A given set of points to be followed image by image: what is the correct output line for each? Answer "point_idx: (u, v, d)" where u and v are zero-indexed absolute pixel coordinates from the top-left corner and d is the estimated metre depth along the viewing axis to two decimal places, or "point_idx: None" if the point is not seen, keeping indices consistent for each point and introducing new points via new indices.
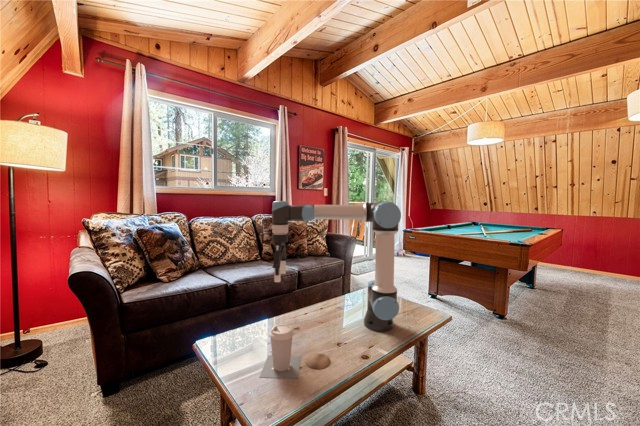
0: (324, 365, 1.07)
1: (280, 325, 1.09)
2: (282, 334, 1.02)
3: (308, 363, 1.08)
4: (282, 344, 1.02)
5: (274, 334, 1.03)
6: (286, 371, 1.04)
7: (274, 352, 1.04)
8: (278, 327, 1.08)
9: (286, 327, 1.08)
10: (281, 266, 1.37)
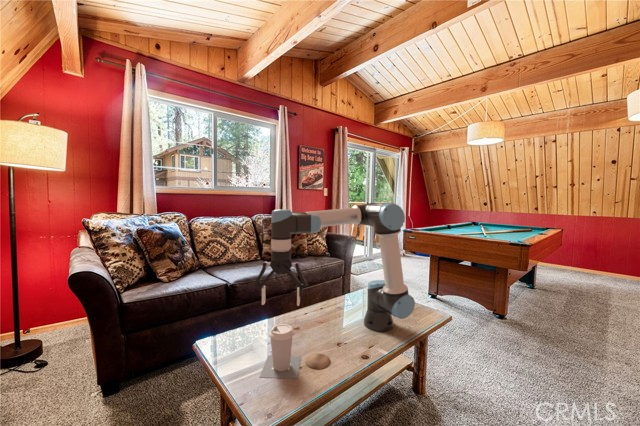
0: (324, 365, 1.07)
1: (280, 325, 1.09)
2: (282, 334, 1.02)
3: (308, 363, 1.08)
4: (282, 344, 1.02)
5: (274, 334, 1.03)
6: (286, 371, 1.04)
7: (274, 352, 1.04)
8: (278, 327, 1.08)
9: (286, 327, 1.08)
10: None
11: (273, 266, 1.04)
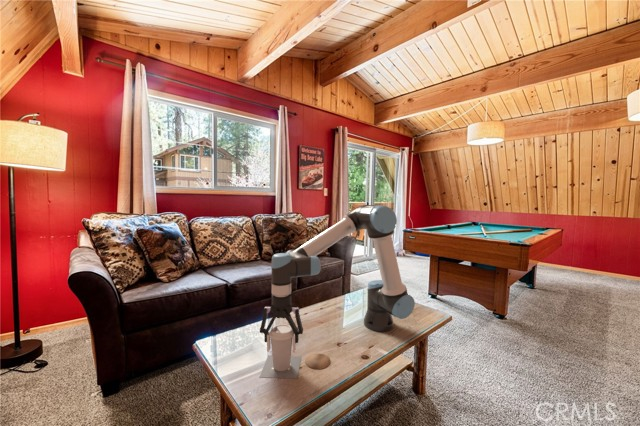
0: (324, 365, 1.07)
1: (280, 325, 1.09)
2: (282, 334, 1.02)
3: (308, 363, 1.08)
4: (282, 344, 1.02)
5: (274, 334, 1.03)
6: (286, 371, 1.04)
7: (274, 352, 1.04)
8: (278, 327, 1.08)
9: (286, 327, 1.08)
10: None
11: (274, 310, 1.05)
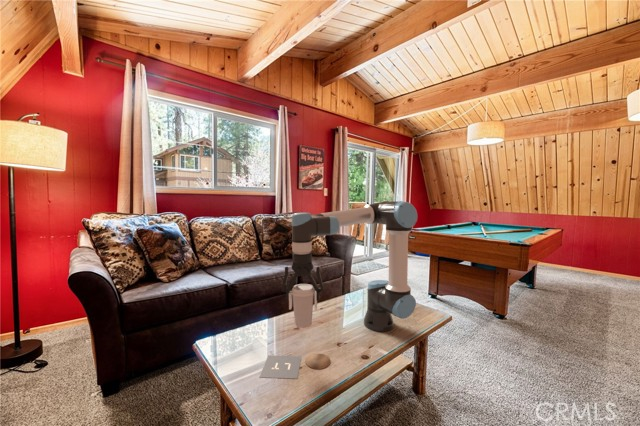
0: (324, 365, 1.07)
1: (301, 284, 1.11)
2: (304, 291, 1.04)
3: (308, 363, 1.08)
4: (304, 300, 1.04)
5: (296, 291, 1.04)
6: (286, 371, 1.04)
7: (296, 309, 1.05)
8: (299, 286, 1.09)
9: (307, 286, 1.09)
10: None
11: (295, 268, 1.06)
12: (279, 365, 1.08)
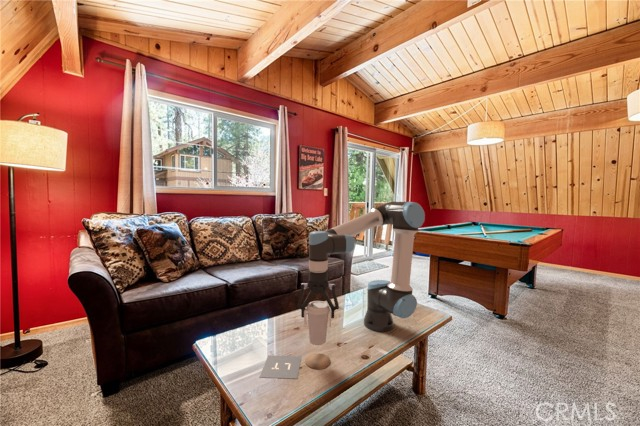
0: (324, 365, 1.07)
1: (316, 301, 1.12)
2: (320, 309, 1.05)
3: (308, 363, 1.08)
4: (320, 318, 1.05)
5: (312, 309, 1.06)
6: (286, 371, 1.04)
7: (311, 326, 1.07)
8: (314, 303, 1.11)
9: (322, 303, 1.11)
10: None
11: (311, 286, 1.08)
12: (279, 365, 1.08)
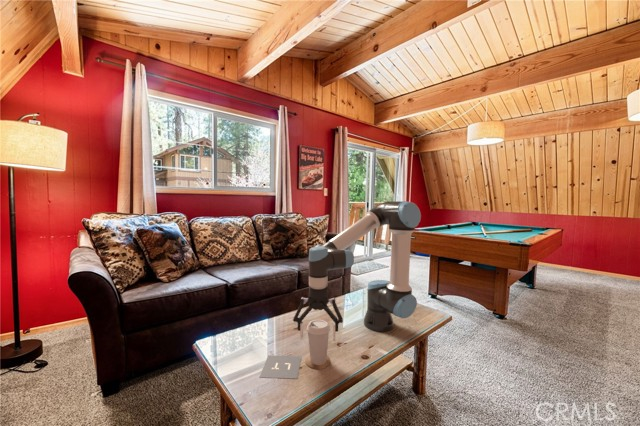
0: (324, 365, 1.07)
1: (316, 321, 1.13)
2: (320, 329, 1.06)
3: (308, 363, 1.08)
4: (320, 338, 1.06)
5: (312, 329, 1.06)
6: (286, 371, 1.04)
7: (312, 346, 1.07)
8: (314, 322, 1.11)
9: (322, 322, 1.11)
10: None
11: (311, 302, 1.08)
12: (279, 365, 1.08)
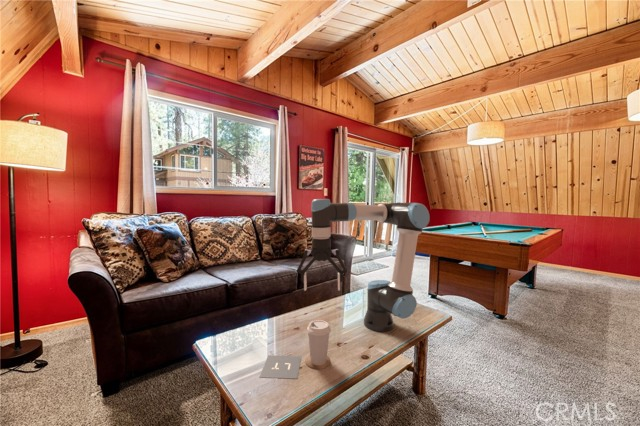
0: (324, 365, 1.07)
1: (316, 321, 1.13)
2: (321, 329, 1.06)
3: (308, 363, 1.08)
4: (320, 339, 1.06)
5: (313, 329, 1.06)
6: (286, 371, 1.04)
7: (312, 347, 1.07)
8: (315, 323, 1.11)
9: (323, 323, 1.11)
10: None
11: (314, 253, 1.09)
12: (279, 365, 1.08)
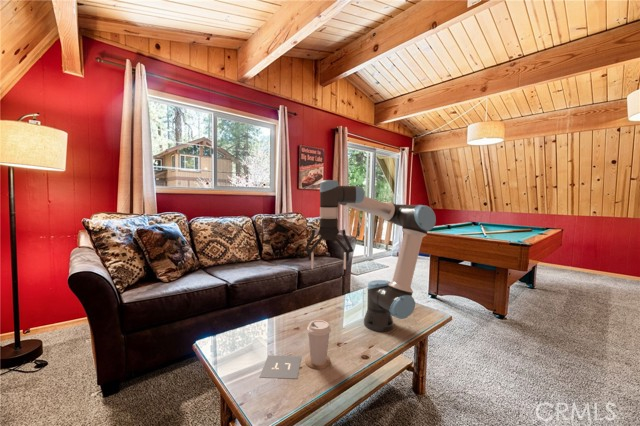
0: (324, 365, 1.07)
1: (316, 321, 1.13)
2: (321, 329, 1.06)
3: (308, 363, 1.08)
4: (320, 339, 1.06)
5: (313, 329, 1.06)
6: (286, 371, 1.04)
7: (312, 347, 1.07)
8: (315, 323, 1.11)
9: (323, 323, 1.11)
10: None
11: (322, 233, 1.13)
12: (279, 365, 1.08)
